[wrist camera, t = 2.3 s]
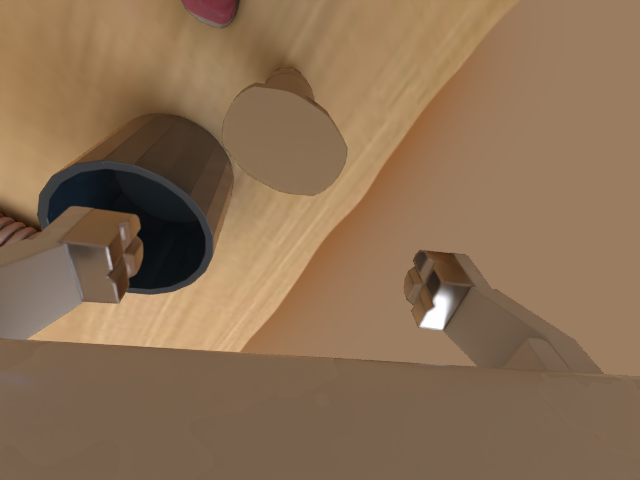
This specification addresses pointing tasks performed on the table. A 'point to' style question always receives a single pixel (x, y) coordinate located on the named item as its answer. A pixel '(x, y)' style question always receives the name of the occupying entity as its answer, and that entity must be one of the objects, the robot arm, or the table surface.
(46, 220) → the open cylindrical bucket
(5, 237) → the coil
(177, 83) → the table surface
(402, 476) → the robot arm
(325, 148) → the handle
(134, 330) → the table surface
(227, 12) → the eraser
